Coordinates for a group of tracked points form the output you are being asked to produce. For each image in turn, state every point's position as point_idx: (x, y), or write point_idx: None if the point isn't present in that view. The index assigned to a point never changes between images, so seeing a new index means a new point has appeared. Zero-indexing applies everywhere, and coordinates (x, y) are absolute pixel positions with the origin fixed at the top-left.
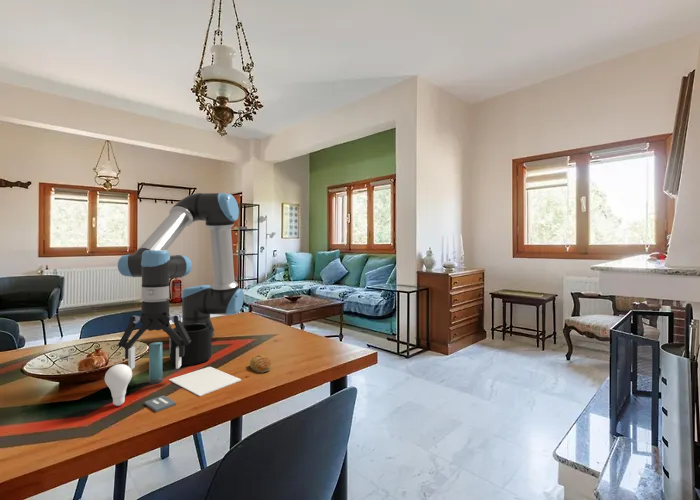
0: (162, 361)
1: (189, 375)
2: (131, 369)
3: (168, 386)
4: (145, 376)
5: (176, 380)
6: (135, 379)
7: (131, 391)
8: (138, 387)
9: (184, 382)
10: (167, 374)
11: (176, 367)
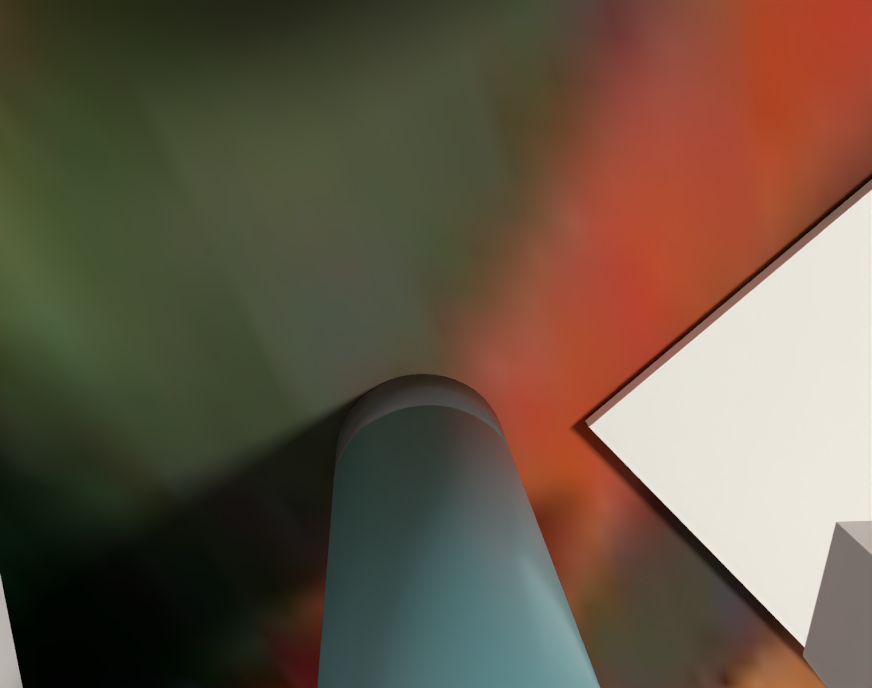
0: (577, 630)
1: (855, 317)
2: (16, 678)
3: (625, 592)
4: (155, 220)
5: (699, 473)
6: (56, 329)
7: (234, 683)
8: (261, 592)
9: (807, 540)
10: (496, 178)
11: (825, 669)
